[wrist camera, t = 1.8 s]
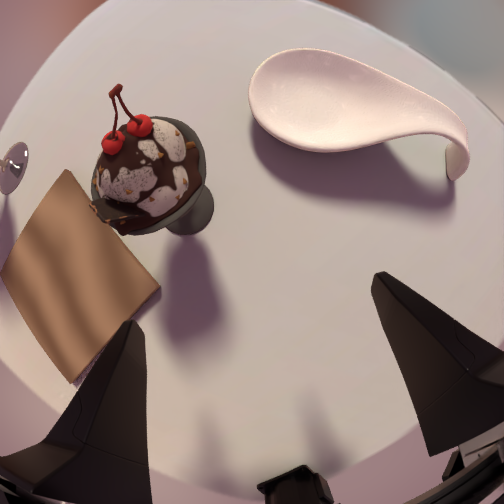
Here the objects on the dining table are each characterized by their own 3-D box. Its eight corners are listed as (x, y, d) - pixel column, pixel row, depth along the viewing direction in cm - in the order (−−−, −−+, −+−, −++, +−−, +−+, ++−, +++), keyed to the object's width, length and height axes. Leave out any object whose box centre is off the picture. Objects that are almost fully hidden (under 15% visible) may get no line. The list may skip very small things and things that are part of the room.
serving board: (74, 380, 22) (70, 384, 21) (4, 273, 22) (-1, 273, 21) (160, 285, 23) (157, 287, 22) (70, 171, 23) (65, 168, 22)
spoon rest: (237, 152, 23) (233, 113, 16) (259, 60, 24) (262, 14, 16) (451, 210, 23) (495, 199, 16) (446, 121, 24) (480, 97, 17)
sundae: (204, 157, 23) (154, 39, 8) (236, 223, 23) (214, 160, 8) (140, 190, 23) (31, 120, 8) (167, 257, 23) (53, 255, 8)
